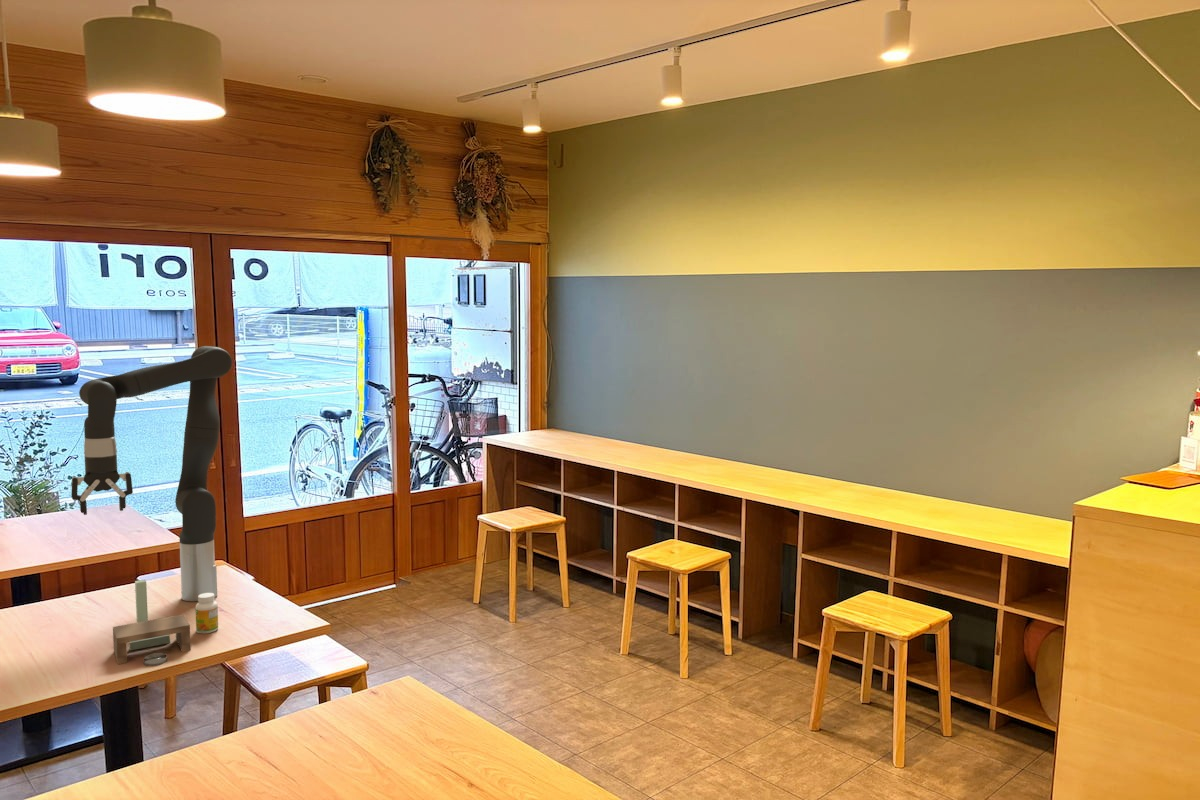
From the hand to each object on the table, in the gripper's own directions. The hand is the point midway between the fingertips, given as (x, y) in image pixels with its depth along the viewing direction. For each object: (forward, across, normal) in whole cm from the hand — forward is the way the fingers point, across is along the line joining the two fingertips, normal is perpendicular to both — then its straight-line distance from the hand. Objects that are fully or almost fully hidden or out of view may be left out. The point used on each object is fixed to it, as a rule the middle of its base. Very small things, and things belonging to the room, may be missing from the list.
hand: (103, 512), depth 227 cm
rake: (+30, -7, +20) cm, 37 cm away
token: (+30, -6, +39) cm, 50 cm away
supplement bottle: (+30, -21, +24) cm, 44 cm away
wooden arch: (+30, -7, +31) cm, 44 cm away
